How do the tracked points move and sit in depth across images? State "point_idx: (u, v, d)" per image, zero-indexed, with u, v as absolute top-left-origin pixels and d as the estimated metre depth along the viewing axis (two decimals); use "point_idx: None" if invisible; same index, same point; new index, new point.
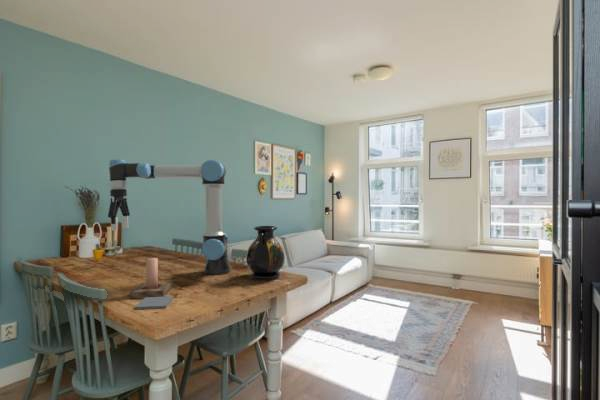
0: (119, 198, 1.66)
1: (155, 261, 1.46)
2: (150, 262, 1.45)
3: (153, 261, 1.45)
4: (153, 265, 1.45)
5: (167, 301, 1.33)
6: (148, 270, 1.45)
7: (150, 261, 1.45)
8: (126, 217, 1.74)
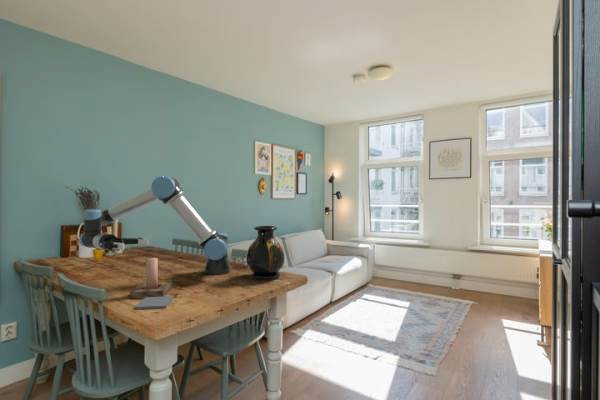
0: (109, 240, 1.55)
1: (155, 261, 1.46)
2: (150, 262, 1.45)
3: (153, 261, 1.45)
4: (153, 265, 1.45)
5: (167, 301, 1.33)
6: (148, 270, 1.45)
7: (150, 261, 1.45)
8: (139, 240, 1.59)
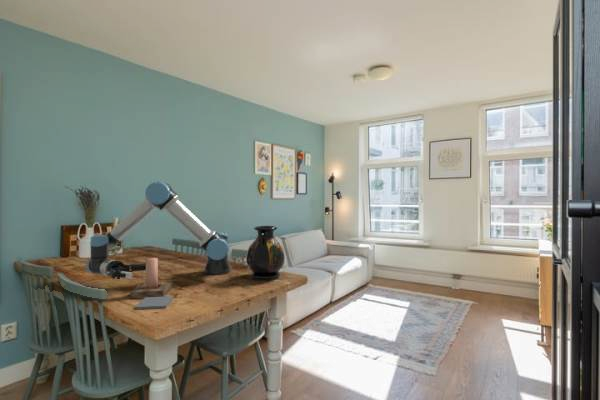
0: (116, 267, 1.53)
1: (155, 261, 1.46)
2: (150, 262, 1.45)
3: (153, 261, 1.45)
4: (153, 265, 1.45)
5: (167, 301, 1.33)
6: (148, 270, 1.45)
7: (150, 261, 1.45)
8: None
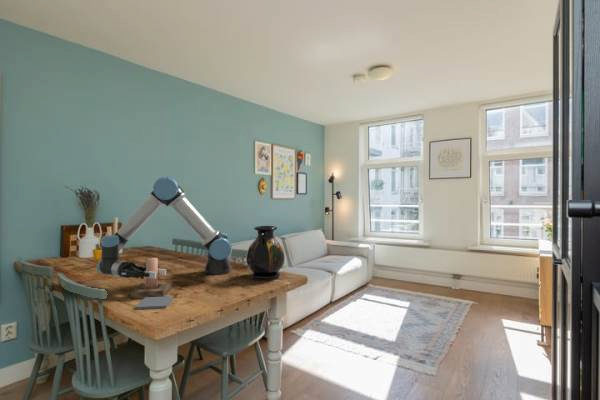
0: (126, 268, 1.50)
1: (155, 261, 1.46)
2: (150, 262, 1.45)
3: (153, 261, 1.45)
4: (153, 265, 1.45)
5: (167, 301, 1.33)
6: (148, 270, 1.45)
7: (150, 261, 1.45)
8: None
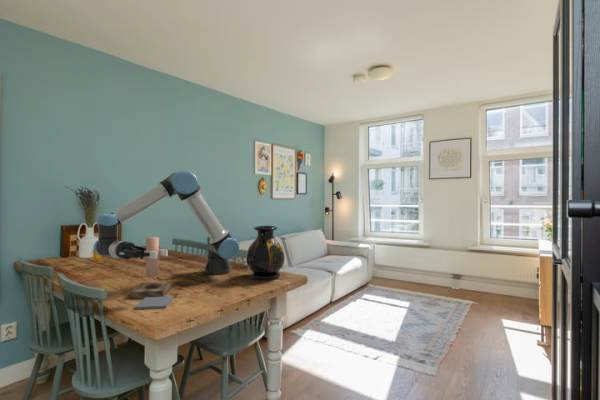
0: (125, 248, 1.38)
1: (156, 240, 1.33)
2: (150, 241, 1.32)
3: (154, 240, 1.32)
4: (154, 244, 1.32)
5: (167, 301, 1.33)
6: (148, 250, 1.32)
7: (150, 240, 1.32)
8: None
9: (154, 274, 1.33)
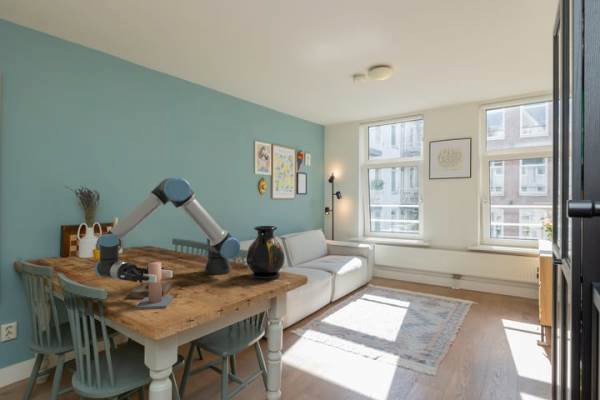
0: (127, 270, 1.36)
1: (158, 266, 1.32)
2: (153, 267, 1.31)
3: (156, 266, 1.31)
4: (156, 270, 1.31)
5: (167, 301, 1.33)
6: None
7: (153, 266, 1.30)
8: None
9: (157, 300, 1.31)
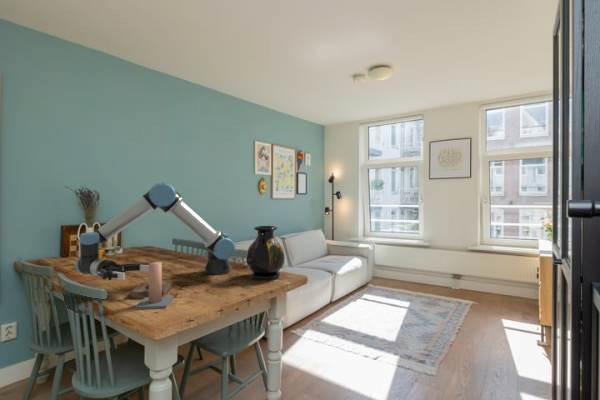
0: (108, 267, 1.41)
1: (159, 266, 1.32)
2: (153, 267, 1.31)
3: (157, 266, 1.31)
4: (157, 270, 1.31)
5: (167, 301, 1.33)
6: (151, 276, 1.31)
7: (153, 266, 1.31)
8: (141, 266, 1.45)
9: (157, 300, 1.31)
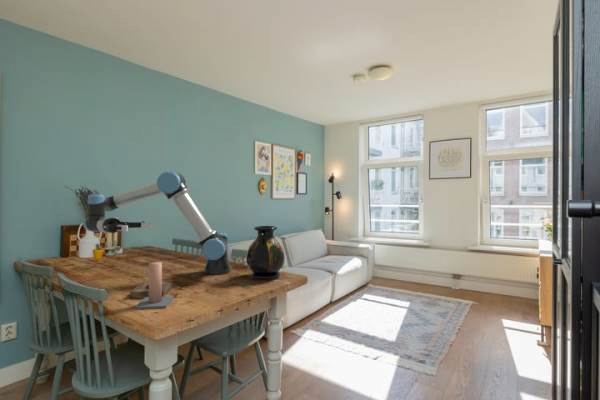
0: (112, 223, 1.58)
1: (159, 266, 1.32)
2: (154, 267, 1.31)
3: (157, 266, 1.31)
4: (157, 270, 1.31)
5: (167, 301, 1.33)
6: (151, 276, 1.31)
7: (154, 266, 1.31)
8: (142, 223, 1.62)
9: (157, 300, 1.32)
